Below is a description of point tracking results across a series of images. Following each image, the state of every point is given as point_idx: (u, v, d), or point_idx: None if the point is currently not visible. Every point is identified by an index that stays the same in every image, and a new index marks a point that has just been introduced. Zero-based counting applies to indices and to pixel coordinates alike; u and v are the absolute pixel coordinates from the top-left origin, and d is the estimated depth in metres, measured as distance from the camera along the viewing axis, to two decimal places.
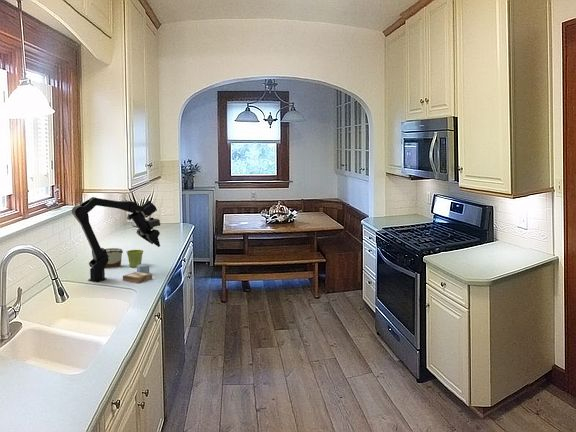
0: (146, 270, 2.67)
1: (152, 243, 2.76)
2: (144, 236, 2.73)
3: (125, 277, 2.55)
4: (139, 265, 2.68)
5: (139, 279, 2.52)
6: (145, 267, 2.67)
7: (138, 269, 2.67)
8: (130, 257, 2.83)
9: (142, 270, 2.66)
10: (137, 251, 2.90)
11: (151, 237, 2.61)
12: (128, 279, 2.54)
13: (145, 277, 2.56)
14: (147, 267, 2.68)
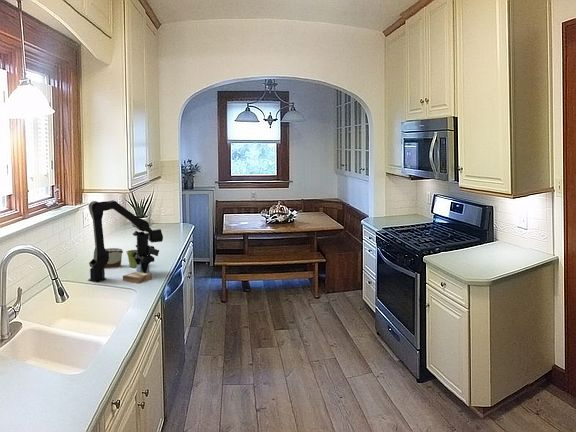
0: None
1: None
2: (138, 260, 2.70)
3: (125, 277, 2.55)
4: (139, 265, 2.68)
5: (139, 279, 2.52)
6: None
7: (138, 269, 2.67)
8: (130, 257, 2.83)
9: (142, 270, 2.66)
10: None
11: (145, 260, 2.59)
12: (128, 279, 2.54)
13: (145, 277, 2.56)
14: None
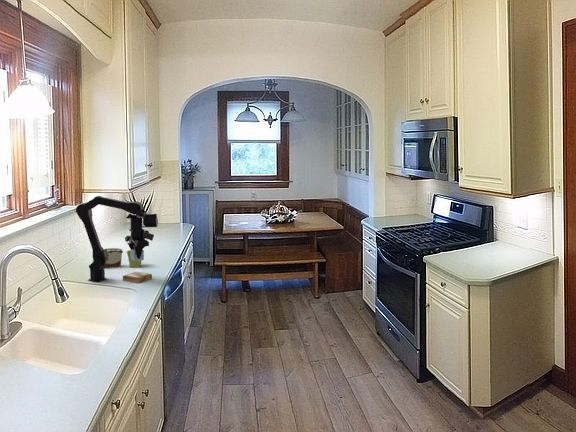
0: None
1: None
2: (131, 245, 2.58)
3: (125, 277, 2.55)
4: (133, 250, 2.56)
5: (139, 279, 2.52)
6: None
7: (132, 254, 2.55)
8: (130, 257, 2.83)
9: (136, 255, 2.54)
10: None
11: (139, 244, 2.47)
12: (128, 279, 2.54)
13: (145, 277, 2.56)
14: None
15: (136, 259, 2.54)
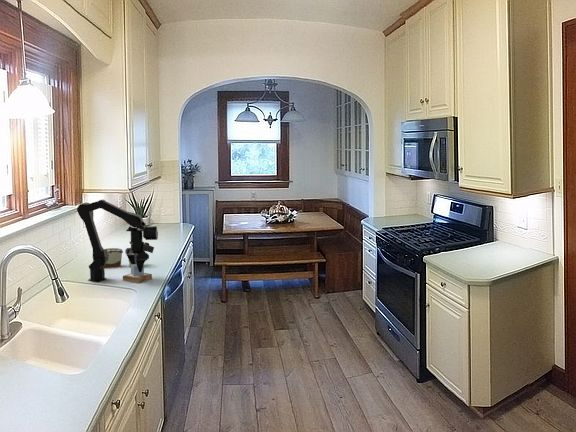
0: None
1: None
2: (130, 256, 2.60)
3: (125, 277, 2.55)
4: (133, 265, 2.57)
5: (139, 279, 2.52)
6: None
7: (132, 269, 2.56)
8: None
9: (136, 270, 2.55)
10: None
11: (139, 257, 2.48)
12: (128, 279, 2.54)
13: (145, 277, 2.56)
14: None
15: (136, 274, 2.55)
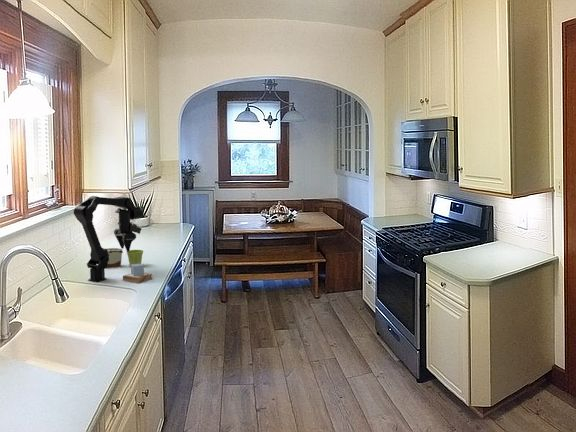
0: (140, 270, 2.56)
1: (122, 247, 2.73)
2: (119, 237, 2.72)
3: (125, 277, 2.55)
4: (133, 265, 2.57)
5: (139, 279, 2.52)
6: (139, 267, 2.55)
7: (132, 269, 2.56)
8: (130, 257, 2.83)
9: (136, 270, 2.55)
10: (137, 251, 2.90)
11: (126, 237, 2.60)
12: (128, 279, 2.54)
13: (145, 277, 2.56)
14: (141, 267, 2.56)
15: (136, 274, 2.55)
